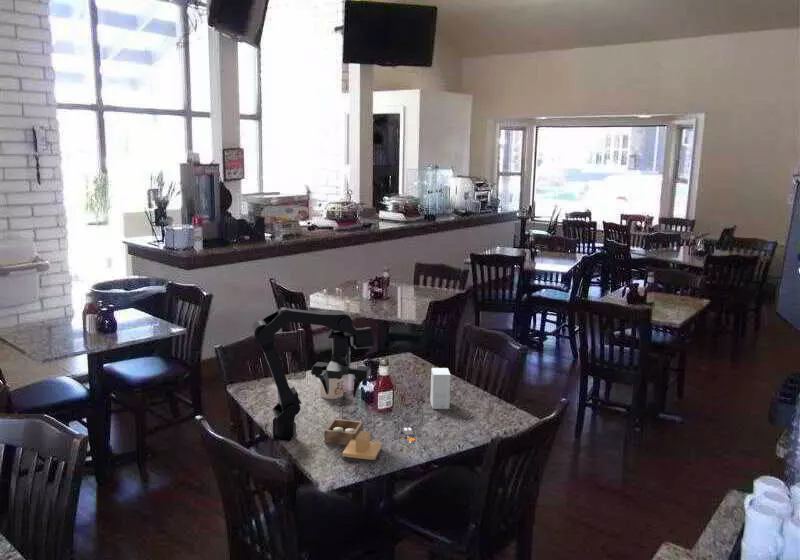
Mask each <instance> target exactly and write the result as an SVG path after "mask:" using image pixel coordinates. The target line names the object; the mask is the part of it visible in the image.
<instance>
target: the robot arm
mask: <svg viewBox="0 0 800 560" xmlns="http://www.w3.org/2000/svg"><path fill="white" fill-rule="evenodd" d="M288 322H289V323H296V324H303V325H305V324H307V325H315V326H321V327H322V326H323V327H325V328H326V327H327V328H329V329H330V330H329V331H328V332H327V333H326V334H325V336H326V337H327V338H328V339H332V341H331V342H332V343H331V344H332V345H331V346H332V348H331V349H332V350H331V351H332V352H331V353H332V354H331V356H330V360H329V362H324V361H323V362H322V361H317V362H316V363H315V364H313V366H312V367H310V368H311V369H310V371H311V372H310V374H311V375H312V376H313V375H314V376H315V378H318V379H319V380H321V382H322V384H323V386H324V389H325V392H326V394H327V395H328V394H329V378H336V379H341V378H342V377H343V378H344V376H345V375H346V376H349V375H354V377H355V378H354V379H353V383H354V384H353V393H352V395H353V396H352V397H353V398H356V395H357V393H358V390H359V387H360V385H361V383H362V382H364V381H365V380H368V379H369V377H370V376H371V373H372V371H371V370H372V369H371V367H370V366H368V365H367V366H364V365H358V366H357V367H356V368H351V366H352V365H351V353H352V351H351V347H353V348H354V349H355V350H358V349H370V348H371V349H372V348H373V347H374V345H375V344H374V343H375V342H374V341H375V340H374V335H373V332H372V329H373V328H372V327H370V326H365V327H357V328H356V327H355V326H354V325H353V323H352V322H353V320H352V318H351V316H350V315H348V313H346V312H345V311H343V310H339V309H337V310H336V309H335V310H328V311H314V310H307V309H305V310H304V309H296V308H290V307H289V308H288V307H286V306H284V307H282V306H281V307H280V308H278V309H277V310H276V311H275V312H273V313H271V314H269V315H267V316H265V317H264V318H263V319H260V320H257V321H255V322H254V323H253V324H252V326H251V333H252V335H253V337H254V339H255V340H256V341H257V343H258V345H259V347H260V348H261V350H262V351H263V354H264V358H265V360H266V363H267V364H268V367H269V369H270V372H271V377H272V379H273V381H274V383H275V386H276V389H277V391H276V392H277V398H278V403H276V405H274V406H273V408H272V409H271V410H272V412H273V414H274V417H273V418H272V436H271V437H270V439H271V440H275V441H284V442H291V441H292V439H293V438H294V437H295V436H296V435H297V422H295V419H296V416H297V415H298V414H299V413H300V411H301V405H302V401H301V400H300V397H299V393H298V391H297V389H296V388H295V386H292V387H290V386H289V383H288V380H287V377H286V374H285V371H284V368H283V367H282V363H281V361H280V359H279V356H278V353H277V349H276V343H275V336H274V335H276V333H278V332H279V331H280V329H282V327H284V326H285V325H286V324H287V323H288Z"/></svg>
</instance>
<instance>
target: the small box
mask: <svg viewBox="0 0 800 560" xmlns="http://www.w3.org/2000/svg"><path fill="white" fill-rule="evenodd" d="M430 371H431V372H430V374H431V375H430V376H431V377H430V404H431V409H433V410H449V409H450V405H451V404H450V403H451V399H450V397H451V376H452V374H451V373H450V370H449V368H448V367H431V370H430Z"/></svg>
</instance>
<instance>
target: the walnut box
mask: <svg viewBox="0 0 800 560" xmlns="http://www.w3.org/2000/svg"><path fill="white" fill-rule="evenodd" d="M360 431H364V421H360V420H351V419H339V418H333V419H332V421H331V422H330V423H329V424H328V426H327V427H326V428H325V430H324V443H325V444H335V445H343V446H344V445H345V446H347V445H348V444H349V442H350V441H351V439H354V440H356V437H357V436H358V434H359V433H360Z"/></svg>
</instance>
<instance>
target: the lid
mask: <svg viewBox="0 0 800 560" xmlns="http://www.w3.org/2000/svg"><path fill="white" fill-rule="evenodd" d="M382 447H383V442H381V441H380V442H379V441H371V432H370V431H367V430H366V431H364V430H363V431H360V433H359V434H358V436H357V437H356V440H354V439H351V441H350V442H349V444H348V445H346V447H345V448H344V450H343V452H342V453H341V454H342V457H344V456H346V457H349V458H358V459H367V460H372V459H373V460H375V459H376V457H377V455H378V453H379V451H380V449H382Z"/></svg>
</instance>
